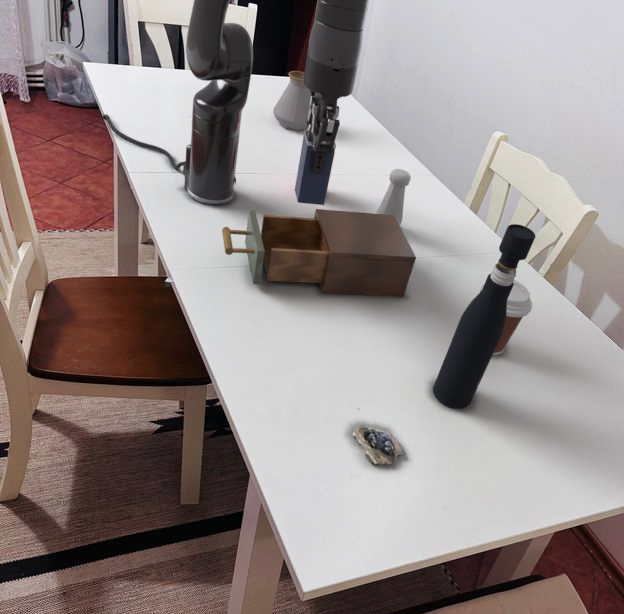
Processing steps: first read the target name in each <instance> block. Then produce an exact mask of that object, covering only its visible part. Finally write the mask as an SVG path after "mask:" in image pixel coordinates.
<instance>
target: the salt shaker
mask: <svg viewBox="0 0 624 614" xmlns="http://www.w3.org/2000/svg"><path fill="white" fill-rule="evenodd" d="M411 177H412V176H411V174H410V173H409V171H407V170H405V169H402V168H394V169H392V170H391V172H390V174H389V177H388V179H389V182H390V184H389V185H388V188H387V190H386V191H385V194H384V196H383V198H382V201H381V203H380V205H379V207H378V209H377V211H376V213H375V214H387V215H394V216H395V218H396V220H397V222H398V223H399V225H400V226H401V225H402V222H403V216H404V204H405V203H404V202H405V192H406V187H408V186H409V185H410V183H411Z"/></svg>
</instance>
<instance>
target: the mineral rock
mask: <svg viewBox="0 0 624 614" xmlns="http://www.w3.org/2000/svg"><path fill="white" fill-rule="evenodd" d="M352 436H353V437H354V438H355V439H356V440H355V441H356V442H357V443H359V446H360V447H361V448H362V452H363V453H365V457H366V460H368V462H369V463H371V464H373V465H374V464H375V465H376V464H377V465H380V466H381V465H385V464H387V465H392V464H393V463H394V460H395V461H397V459H398V456H402V455H405V450H404V449H403V447H402V445H401V443H400V441H399V440H397V439H396V437H395V436H394V435H393V434H392V433H391V432H389V431H387V430H386V429H383V428H379V427H375V428H374V427H373V426H366V425H359V426H357V427H354V430H352Z"/></svg>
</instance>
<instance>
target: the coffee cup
mask: <svg viewBox="0 0 624 614" xmlns="http://www.w3.org/2000/svg"><path fill="white" fill-rule="evenodd" d="M513 284H514V285H513V288H512V290H511V292H510V295H509V297H508V299H507V314H506V321H505V326H504V330H503V333H502V335H501V338H500V340H499V342H498V344H497V346H496V349H495V351H494V353H493V355H492V356H498V355H501V354H502V353H503V352H504V351H505V348H506V346H507V345H508V343H509V341H510V339H511V338H512V336H513V335H514V333H515V331H516V329H517V327H518V326H519V324H520V322H521V320H523V318H524V317H526V316H528V315H529V314H530V313H531V311H532V309H533V302H532V299H531V293H530V292H529V290H528V288H527V287H526V286H525V285H524V284H523V283H521V282H519V281H517V280H516V279H514V282H513ZM483 286H484V284H483V285H482V286H481V287H480V289H479V293H480V292H481V291H482V289H483Z"/></svg>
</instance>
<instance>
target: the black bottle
mask: <svg viewBox="0 0 624 614" xmlns="http://www.w3.org/2000/svg"><path fill="white" fill-rule="evenodd" d="M535 239H536V234H535V232H534V231H533V230H532V229H531V228H529V227H527V226H525V225H522V224H517V223H512V224H509V225H508V226H507V227H506V229H505V232H504V234H503V237H502V239H501V242H500V244H499V246H498V250H499V252H500V253H501V255H500V257H499V259H498V261H497V262H496V263H495V264H494V266H492V270H491V271H490V273H488V275H487V277H486V279H485V282H484V284H483V285H484V286H483V285H482V286H483V289H482V291H481V292H480V291H479V292H478V294H476V296H475V297H474V298H473V299H472V300H471V301H470V302H469V304H467V306H466V308H465V310H464V311H463V313H462V315H461V317H460V319H459V321H458V323H457V326H456V328H455V331H454V334H453V336H452V339H451V341H450V344H449V346H448V349H447V351H446V354H445V357H444V359H443V361H442V364H441V366H440V369H439V371H438V373H437V377H436V378H435V382H434V384H433V386H432V393H433V396H434V398H435V399H436V400H437V401H438V402H439V403H440V404H442V405H444V406H445V407H448V408H450V409H456V410H462V409H465V408H468V407H469V406H470V405H471V403H472V401H473V399H474V396H475V395H476V392H477V390H478V388H479V385H480V384H481V381H482V379H483V377H484V374H485V372H486V371H487V368H488V366H489V364H490V362H491V359H492V358H493V356H494V355H493V353H494V351H495V349H496V346H497V344H498V342H499V340H500V338H501V335H502V333H503V330H504V326H505V321H506V314H507V299H508V297H509V295H510V292H511V290H512V288H513V285H514V284H513V282H514V280H515V278H516V277H517V269H518V266H519V263H520V261H524V260H526V259H527V257H528V255H529V252H530V250H531V248H532V246H533V244H534V242H535Z"/></svg>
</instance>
